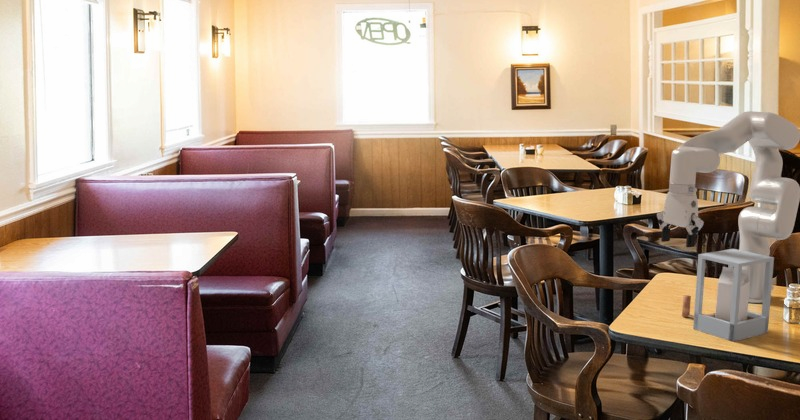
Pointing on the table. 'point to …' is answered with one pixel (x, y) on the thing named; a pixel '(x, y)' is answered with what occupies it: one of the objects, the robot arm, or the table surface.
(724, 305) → the milk carton
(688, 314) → the brown tray with handle
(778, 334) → the table surface
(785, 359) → the table surface
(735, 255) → the grey open frame
